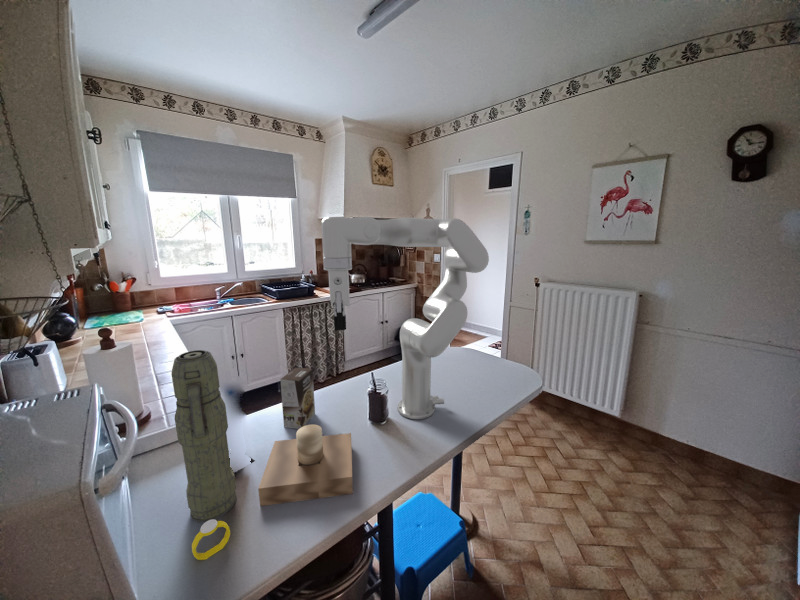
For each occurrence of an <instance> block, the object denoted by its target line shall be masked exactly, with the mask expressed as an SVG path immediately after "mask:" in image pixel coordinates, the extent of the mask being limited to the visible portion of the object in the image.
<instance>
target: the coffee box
mask: <svg viewBox="0 0 800 600" xmlns="http://www.w3.org/2000/svg"><path fill="white" fill-rule="evenodd" d="M280 391H281V392H280V393H281V405H282V418H283V419H282V421H283V427H284V428H288V429H296V430H299V429H300V428H301V427H303V426H306V425H308V423H309V422H310V420H311V419H312V418H313V417H314V416H315V414H316V407H315V405H316V402H315V389H314V372H313V368H306V367H294V368H293V369H291V371H289V372H288V373H287V374H285V375H284V376H282V377H281V378H280Z"/></svg>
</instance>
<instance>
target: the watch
mask: <svg viewBox="0 0 800 600" xmlns="http://www.w3.org/2000/svg"><path fill="white" fill-rule="evenodd" d="M218 528H225V533H224V536H223V538H222V539H221V541H220V542H219V543H218V544H216V545H214V546H213V547H212V548H209V549H208V550H207V551H205V552H197V547H198V545H199V542H200V541H201V540H202V539H203V538H204V537H207V536H210V535H212V534H213V533H215V532H216V531H217V529H218ZM230 529H231V528H230V526H229V525H228V523H227V522H225V521H224V520H218V519H212V520H209V521H207V522H205V523H203V524H202V525H201V527H200V529H199V531H198V533H197V534H196V535H195V536H194V539H193V541H192V543H191V552H192V554H193V556H194V558H195V559H196V560H199V561H205V560H207V559H208V558H210V557H212V556H213V555H215V554H216V553H218V552H219V551H222V549H224V547H225V546H226V545H227V543H228V542H229V540H230V537H231V530H230Z"/></svg>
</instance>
